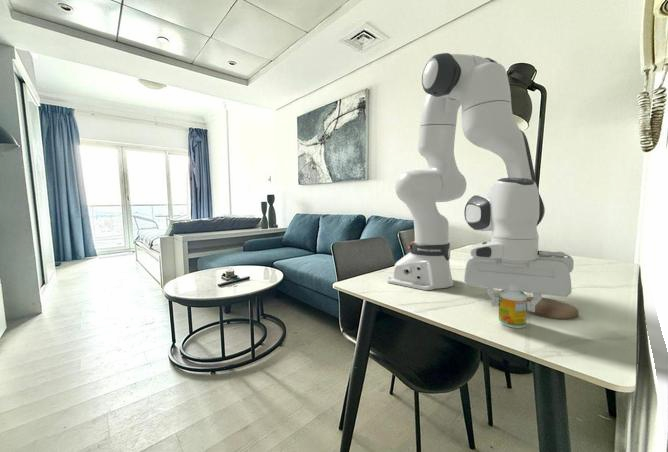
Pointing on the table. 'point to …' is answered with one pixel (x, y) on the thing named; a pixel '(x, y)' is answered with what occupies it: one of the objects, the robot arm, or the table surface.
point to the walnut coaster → (554, 309)
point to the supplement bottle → (512, 307)
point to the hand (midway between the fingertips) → (512, 308)
